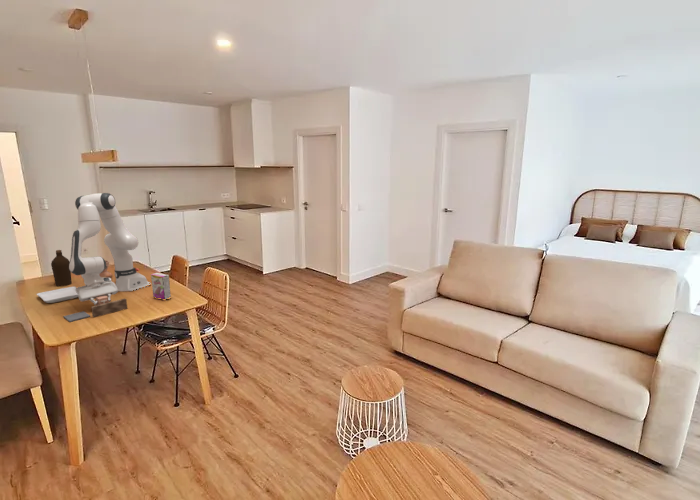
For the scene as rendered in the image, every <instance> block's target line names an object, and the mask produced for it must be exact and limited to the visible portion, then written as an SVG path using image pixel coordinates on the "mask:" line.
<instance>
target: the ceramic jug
mask: <svg viewBox="0 0 700 500" xmlns="http://www.w3.org/2000/svg"><path fill="white" fill-rule="evenodd" d="M104 260H105V259H104ZM105 261H106V268H105V269H104V271H103V272H102V273H100V274H99V275H100V277H104V278H111V279H112V278H113V273H111V272H110V271H108V268H109V265H110V261H109V260H105Z"/></svg>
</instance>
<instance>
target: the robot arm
mask: <svg viewBox="0 0 700 500" xmlns="http://www.w3.org/2000/svg"><path fill="white" fill-rule="evenodd" d="M74 204H75V208H76V210H77V222H78V225H77V229H76V230H75V231H73V233H72V238H71V249H70V259H69V262H70V263H69V270H70V272H71V274H73V275H74V276H81V278H82V279H83V283H84V285H82V286H78V287H76V293H77V294H78V297H77V298H78V299H79V301H80V302H86V301H90V302H91V303H93V305H94V306H96V305H98V302H97V301H96V298H95V297H99V296H104V295H105V296H107V297H108V299H109V302H112V299H111V296H112V295H116V294H118V292H133V290H134V291H137V290H140V289H139V288H141V289H143V288H142V287H144V288H146V287H145V286H147V285H150V284H151V285H152V282H150V281H148V279H147V278H146V276H145V275H143V274H141V273H139V271H140V268H138V267H134V261H133V256H132V255H131V254H130V252H129V251H133V250H136V249H137V248H138V246H139V240H138V238H137V237H136V236H135V235H134V234H132V232H131V231H130V230H129V229H128V228H127V226H126V225H125V223H124V221H123V219H122V217H121V214H120V212H119V210H118V208H117V206H116V199H115V197H114V196H113V194H111V193H109V192H102V193H100V192H99V193H98V192H97V193H91V194H87V195H81V196H78V197H77V198H76V199H75V201H74ZM101 225H103V227H104V229H105V231H107V232H108V233H107V234H106V235H105V236H104V238H103V242H104V245H105V246H106V247H107V248H108V249H109V251H110V253H111V256H112V258H113V259H112V260H113V264H114V278H115V281H112V278H104V277H100V275H99V274H100V273H102V272H103V271H104V269H105V268H106V261H107V260H106V261H105V258H104V257H102V256H89V257H87V256H85V257H82V247H83V243H84V241H85V240H87V239H91V238H92V237H95V236H96V235H98V234H99V233H100V231H101V229H102V228H101V227H102V226H101ZM149 283H150V284H149ZM147 287H148V286H147ZM136 289H137V290H136Z"/></svg>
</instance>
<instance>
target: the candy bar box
mask: <svg viewBox="0 0 700 500" xmlns="http://www.w3.org/2000/svg"><path fill="white" fill-rule="evenodd" d="M150 278H151V280H150V281H151V288H152V297H156V298H161V299H167V298H169V297H171V298H172V295H171V285H170V275H169V274H164V273H159V272H155V273H152V274H150ZM156 298H155V299H156Z"/></svg>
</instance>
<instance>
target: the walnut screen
mask: <svg viewBox="0 0 700 500" xmlns="http://www.w3.org/2000/svg"><path fill="white" fill-rule="evenodd" d="M123 309H124V310H127V309H128V303H127V299H126V298H121V299H117V300H113V301H110V302H109V303H104V304H100V305H94V306H91V314H92V315H91V316H92V317H93V318H98V317H101V316H105V315H108V314H112V313H115V312H116V313H117V312H119V311H124V310H123Z"/></svg>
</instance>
